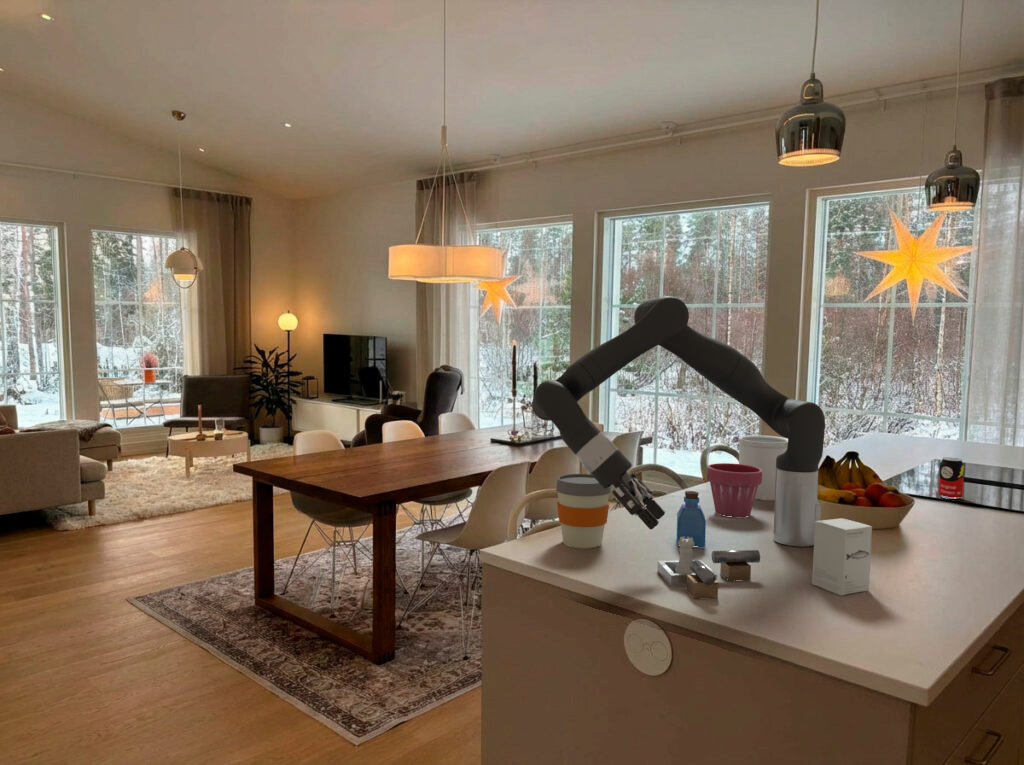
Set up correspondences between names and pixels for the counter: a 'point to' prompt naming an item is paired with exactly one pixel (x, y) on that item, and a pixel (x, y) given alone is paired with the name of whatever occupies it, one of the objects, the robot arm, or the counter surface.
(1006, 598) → the counter surface
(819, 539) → the supplement box
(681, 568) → the rook chess piece
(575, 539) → the reusable coffee cup
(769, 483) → the utensil holder
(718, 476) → the plant pot
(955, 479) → the beverage can
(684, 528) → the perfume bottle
